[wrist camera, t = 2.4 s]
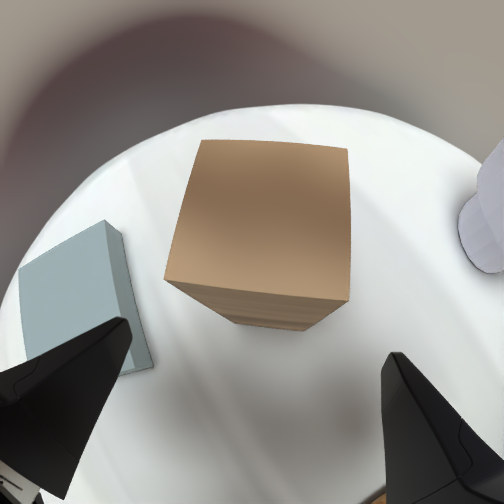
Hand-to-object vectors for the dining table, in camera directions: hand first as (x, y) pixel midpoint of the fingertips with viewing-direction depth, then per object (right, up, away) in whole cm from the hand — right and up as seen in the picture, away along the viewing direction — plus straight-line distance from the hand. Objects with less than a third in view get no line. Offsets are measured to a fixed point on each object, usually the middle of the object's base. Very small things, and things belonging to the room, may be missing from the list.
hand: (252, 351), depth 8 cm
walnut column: (+1, 0, +12) cm, 12 cm away
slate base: (-15, -3, +12) cm, 20 cm away
